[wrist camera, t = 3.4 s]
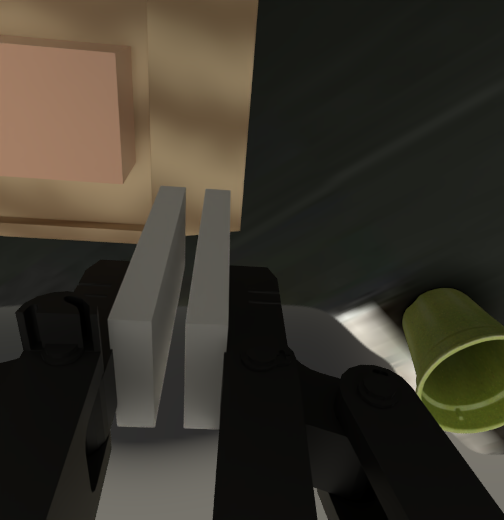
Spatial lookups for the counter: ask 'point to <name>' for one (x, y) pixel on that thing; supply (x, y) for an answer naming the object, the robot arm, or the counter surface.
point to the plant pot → (457, 360)
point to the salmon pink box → (66, 110)
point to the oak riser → (147, 113)
